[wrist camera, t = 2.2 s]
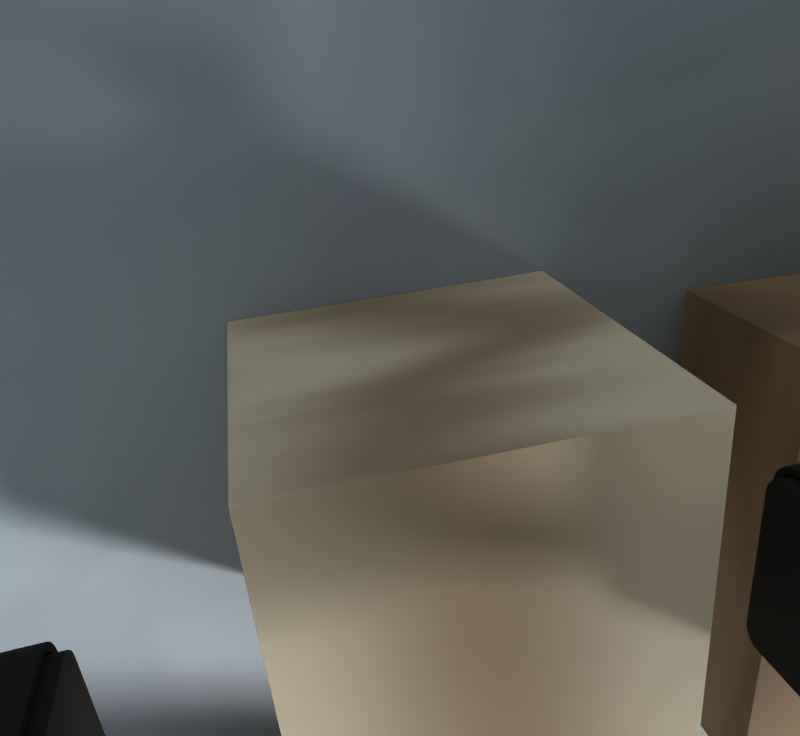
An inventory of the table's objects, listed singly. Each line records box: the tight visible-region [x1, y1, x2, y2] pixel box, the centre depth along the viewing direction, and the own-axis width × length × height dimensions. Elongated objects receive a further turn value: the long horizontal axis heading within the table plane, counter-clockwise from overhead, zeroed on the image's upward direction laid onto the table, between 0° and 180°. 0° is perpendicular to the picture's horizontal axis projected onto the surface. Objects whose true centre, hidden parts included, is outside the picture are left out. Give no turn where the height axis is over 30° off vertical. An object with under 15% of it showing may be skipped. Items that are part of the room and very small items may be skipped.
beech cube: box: [227, 271, 737, 736], centre depth 12 cm, size 6×6×6 cm
